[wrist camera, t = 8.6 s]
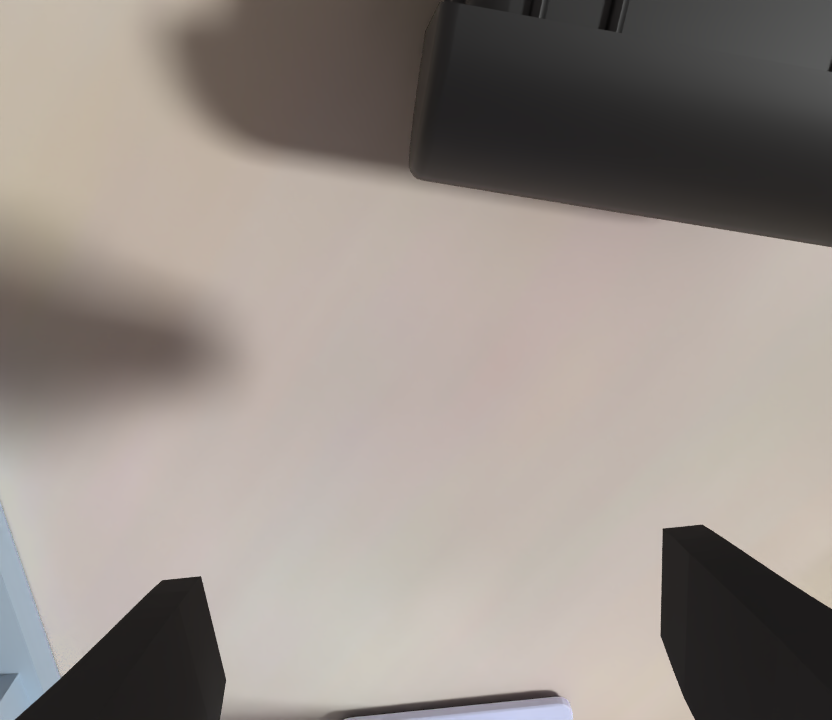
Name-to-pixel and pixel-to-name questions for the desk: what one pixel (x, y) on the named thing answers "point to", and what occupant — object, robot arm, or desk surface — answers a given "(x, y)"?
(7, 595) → the display stand
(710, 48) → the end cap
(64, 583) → the desk surface
